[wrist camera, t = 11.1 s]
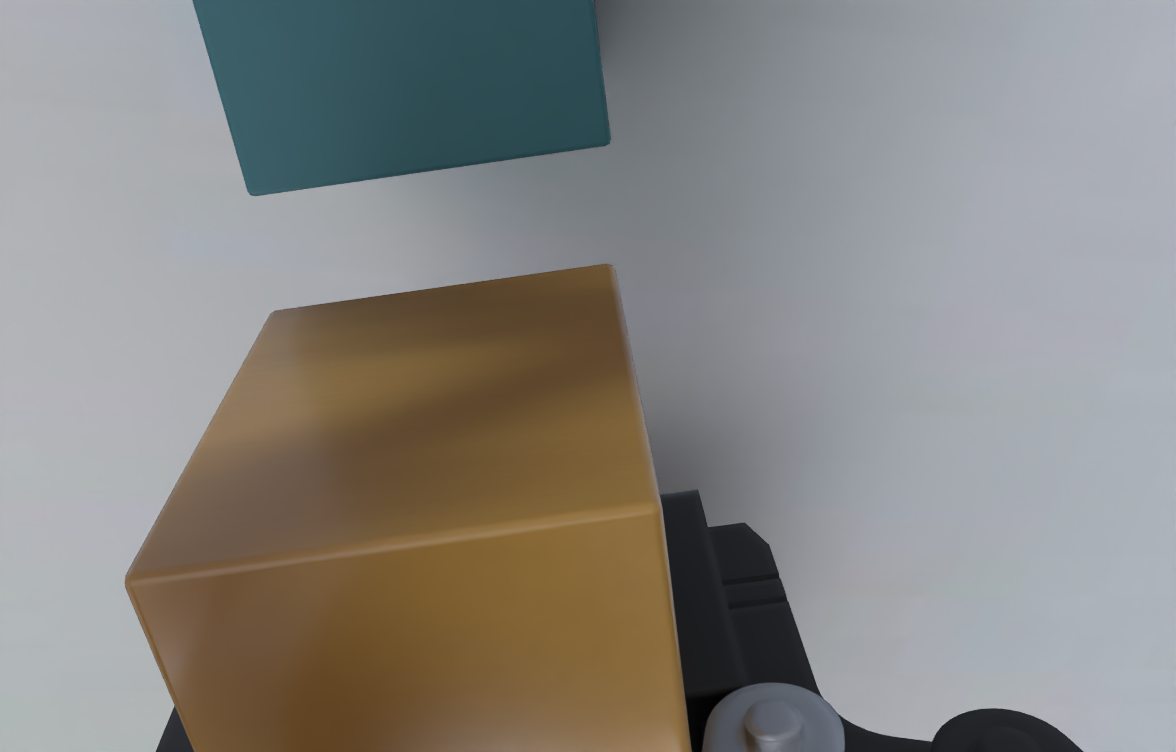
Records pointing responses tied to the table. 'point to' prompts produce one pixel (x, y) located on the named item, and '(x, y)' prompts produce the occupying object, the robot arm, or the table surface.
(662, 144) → the table surface
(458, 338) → the honey block
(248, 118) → the teal block
